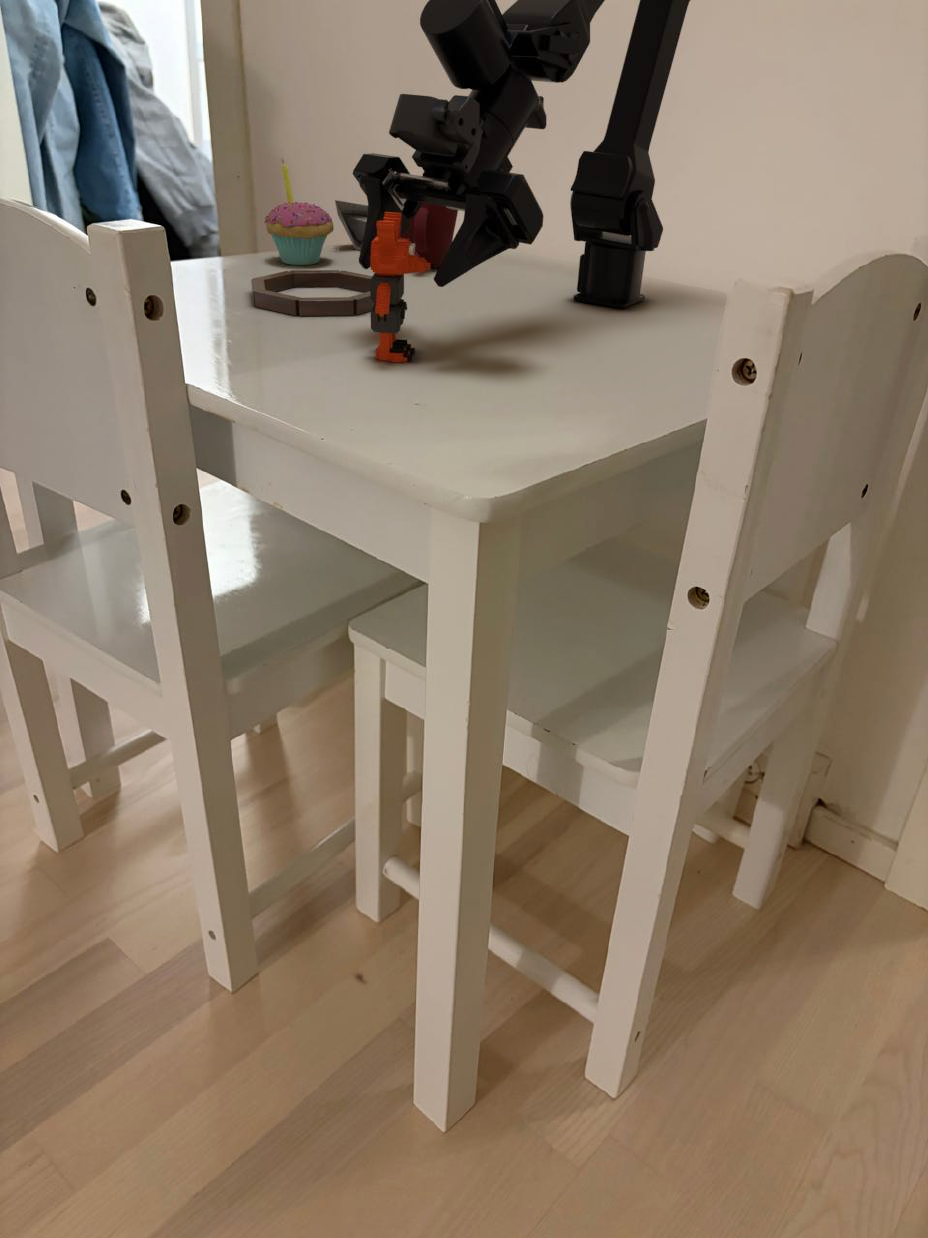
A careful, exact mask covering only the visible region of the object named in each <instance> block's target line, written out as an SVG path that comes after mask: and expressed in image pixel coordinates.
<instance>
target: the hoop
mask: <svg viewBox="0 0 928 1238" xmlns="http://www.w3.org/2000/svg"><path fill="white" fill-rule="evenodd" d="M372 276H373V275H368V274H363V273H358V272H352V271H347V270H339V269H318V270H317V269H316V270H315V269H314V270H313V269H312V270H311V269H309V270H308V269H307V270H306V269H304V270H302V269H295V270H294V269H293V270H285V271H280V272H276V273H271V274H266V275H262V276H258V277H254V278H251V280H250V282H251V283H250V284H251V295H252V304H253V307H255V308H259V309H262V310H267V311H272V312H277V313H282V314H285V315H286V314H287V315H291V316H295V317H297V316H299V317H332V316H334V317H336V316H341V317H342V316H354V315H356V316H358V315H362V314H366V313H368V312H371V308H372V306H373V305H374V303H373V301H372V300H371V299H370V281H371V278H372ZM292 288H342V289H347V290H352V291H357V292H361V293H358V294H355V295H351V296H344V297H343V296H341V297H339V296H334V297H333V296H329V297H327V296H326V297H325V296H323V297H320V296H319V297H318V296H317V297H313V296H311V297H300V296H295V295H290V294H286V293H282V292H279V291H284V290H288V289H292Z"/></svg>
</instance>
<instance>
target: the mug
mask: <svg viewBox="0 0 928 1238" xmlns="http://www.w3.org/2000/svg"><path fill="white" fill-rule="evenodd" d="M458 212H459V210H454V209H448V208H447V207H445V206H443V205H437V204H431V203H425V202H422V203H421V208H420V209H419V211H418V213H417V214H416V215H415V216H414V217H412V218H410V219H408V221H409V222H410V224H411V227H410V228H409V229H408V230H407V231H406V232H405V233H404V234H403V235H402V236H401V237H400V238H404V239H409V241H411V243H415V252H417V254H419V257H421V258H425V260H427V263H435V268H431V269H430V270H436V269H438V267H439V265H440V263H441V261H442V259H443V257H444V256H445V254H446V252H447V250H448V248H449V247H450V245H451V243H452V241H453V239H454V235H455V228H456V224H457V220H458V219H457V218H458V214H459V213H458Z"/></svg>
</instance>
